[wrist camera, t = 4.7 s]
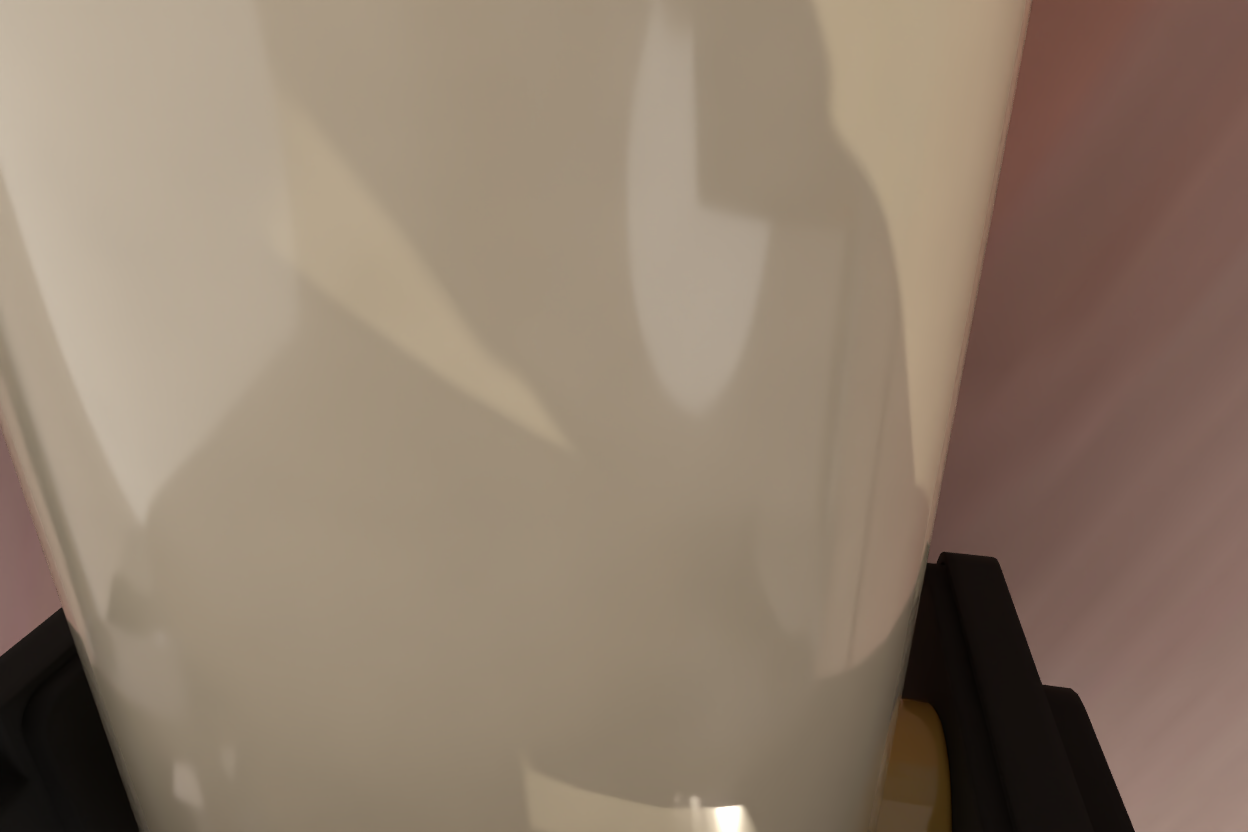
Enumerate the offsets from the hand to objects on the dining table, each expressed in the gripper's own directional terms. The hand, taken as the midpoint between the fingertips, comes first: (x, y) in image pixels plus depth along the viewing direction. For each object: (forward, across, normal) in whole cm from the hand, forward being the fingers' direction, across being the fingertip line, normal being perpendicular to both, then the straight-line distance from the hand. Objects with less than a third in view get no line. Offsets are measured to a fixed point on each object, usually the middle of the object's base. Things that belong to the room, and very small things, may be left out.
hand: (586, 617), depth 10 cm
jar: (-2, 0, -9) cm, 9 cm away
